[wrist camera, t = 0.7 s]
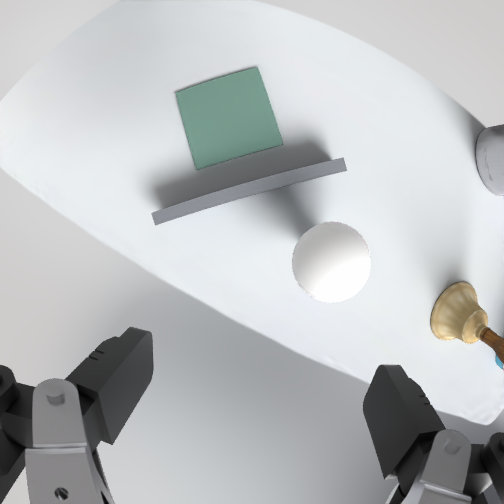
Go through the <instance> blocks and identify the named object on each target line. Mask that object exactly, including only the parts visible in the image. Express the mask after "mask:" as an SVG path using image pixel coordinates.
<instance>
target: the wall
mask: <svg viewBox="0 0 504 504" xmlns="http://www.w3.org/2000/svg"><path fill="white" fill-rule="evenodd" d="M343 171H347V169H346V165H345V162H344V158H339V159H335V160H331V161H326V162H322V163H318V164H314V165H310V166H306V167H302V168H298V169H294V170H290V171H286V172H282V173H279V174H275V175H271V176H267V177H264V178H260V179H257V180H253V181H250V182H246V183H243V184H239V185H236V186H233V187H229V188H226V189H223V190H219V191H216V192H213V193H210V194H207V195H204V196H200V197H197V198H194V199H191V200H188V201H185V202H182V203H179V204H176V205H173V206H170V207H167V208H164V209H162V210H159V211H156V212H153V213H152V217H153V220H154V223H155V225H158V224H161V223H164V222H167V221H170V220H173V219H176V218H179V217H182V216H185V215H188V214H191V213H195V212H198V211H201V210H204V209H207V208H211V207H214V206H217V205H220V204H224V203H227V202H230V201H234V200H237V199H241V198H244V197H248V196H251V195H255V194H258V193H262V192H265V191H269V190H272V189H276V188H280V187H284V186H287V185H291V184H295V183H299V182H303V181H307V180H311V179H314V178H318V177H323V176H327V175H331V174H335V173H339V172H343Z"/></svg>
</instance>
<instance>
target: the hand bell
mask: <svg viewBox="0 0 504 504" xmlns="http://www.w3.org/2000/svg"><path fill="white" fill-rule="evenodd" d="M487 324H488V316H487V314H486V312H485V311H484V310H483V309H482V308H481V307H480V306H479V305H478V302H477V295H476V292H475V290H474V288H473V287H472V286H471V285H470V284H468V283H466V282H458V283H455V284H453V285H451V286H450V287H448V288H447V289H446V290H445V291H444V292H443V293H442V294H441V295H440V297H439V298H438V300H437V302H436V304H435V306H434V308H433V311H432V315H431V328H432V331H433V333H434V335H435V336H436V337H437V338H439V339H441V340H452V339H455V338H458V339H460V340H462V341H464V342H465V343H468V344H471V343H474V342H476V341H478V340H481V341H483V342H484V343H486V344H487V345H489V346H490V347H491V348H493V350H494V351H495V352H496V354H497V356H498V358H499V359H500V361H501V362H502V363H503V364H504V338H502V337H500V336H498V335H497V334H496V333H495V332H494V331H492V330H491V329H490V328H488V327H487Z"/></svg>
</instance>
